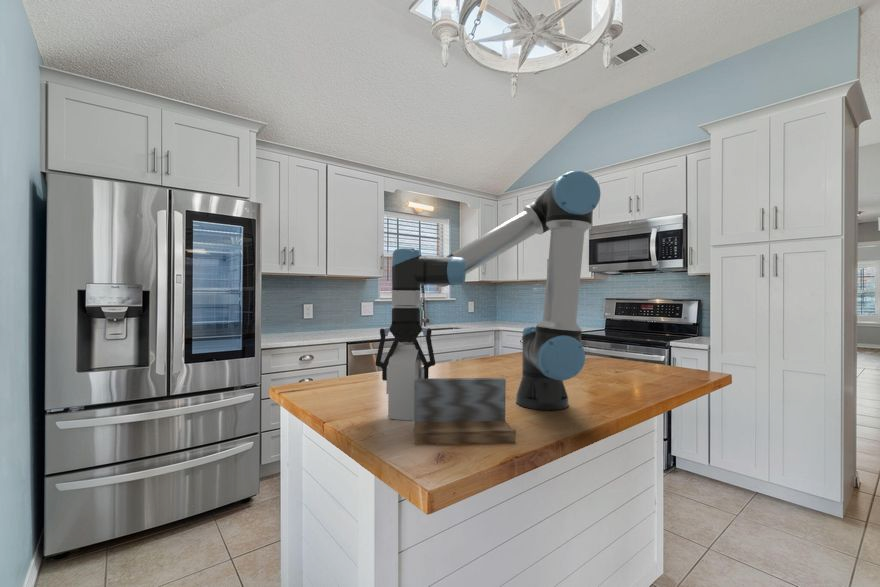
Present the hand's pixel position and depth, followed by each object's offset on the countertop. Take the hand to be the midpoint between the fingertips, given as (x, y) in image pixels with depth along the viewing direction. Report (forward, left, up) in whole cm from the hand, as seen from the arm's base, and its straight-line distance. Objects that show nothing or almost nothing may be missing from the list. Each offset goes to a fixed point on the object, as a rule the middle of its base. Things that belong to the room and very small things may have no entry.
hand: (405, 392), depth 109 cm
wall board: (-13, +15, -6) cm, 21 cm away
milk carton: (0, 0, -7) cm, 7 cm away
